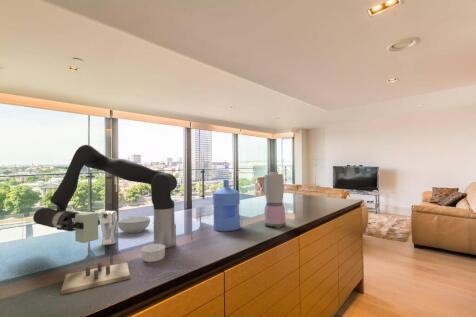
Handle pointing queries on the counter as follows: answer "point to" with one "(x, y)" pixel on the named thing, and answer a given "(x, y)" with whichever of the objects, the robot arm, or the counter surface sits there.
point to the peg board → (95, 277)
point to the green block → (87, 227)
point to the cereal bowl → (133, 224)
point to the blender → (274, 199)
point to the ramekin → (153, 252)
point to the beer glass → (108, 227)
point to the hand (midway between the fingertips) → (90, 224)
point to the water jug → (226, 208)
